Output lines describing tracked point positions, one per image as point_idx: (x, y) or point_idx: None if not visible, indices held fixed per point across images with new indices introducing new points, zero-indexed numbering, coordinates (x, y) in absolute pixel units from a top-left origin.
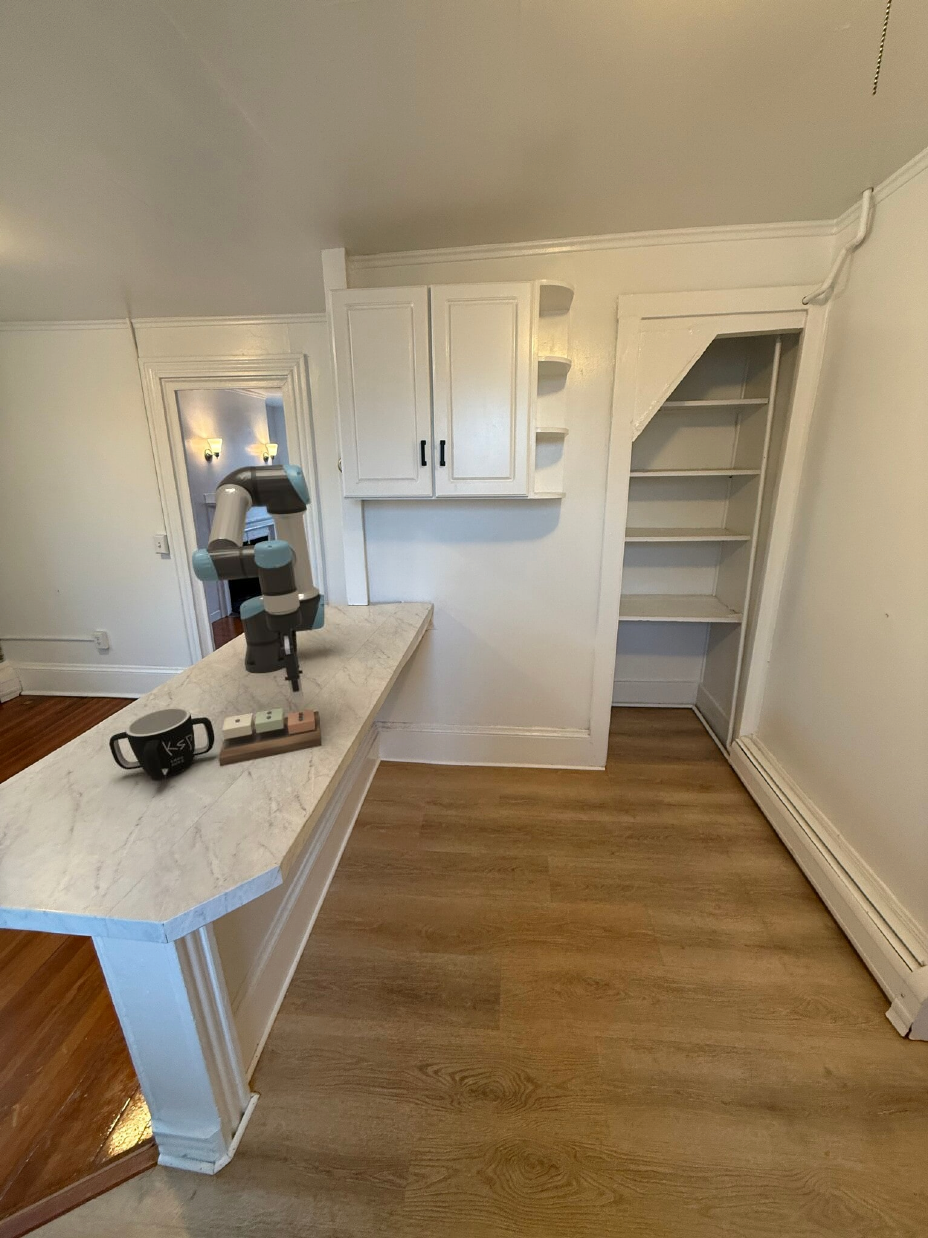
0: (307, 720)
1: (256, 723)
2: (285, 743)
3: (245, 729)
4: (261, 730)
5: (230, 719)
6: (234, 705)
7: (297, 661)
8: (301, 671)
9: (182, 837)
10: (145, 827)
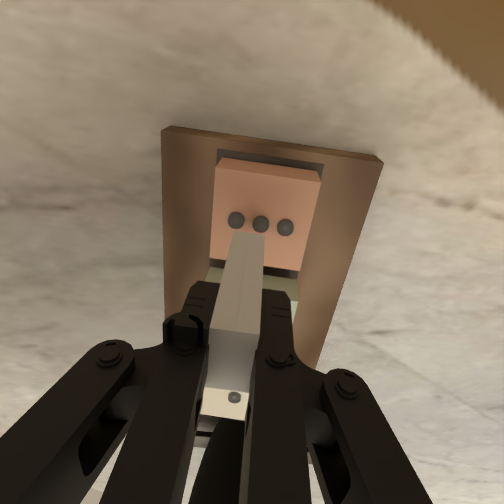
0: (304, 205)
1: None
2: (340, 266)
3: None
4: None
5: (212, 406)
6: (14, 332)
7: (135, 435)
8: (193, 333)
9: (499, 422)
10: (422, 451)
